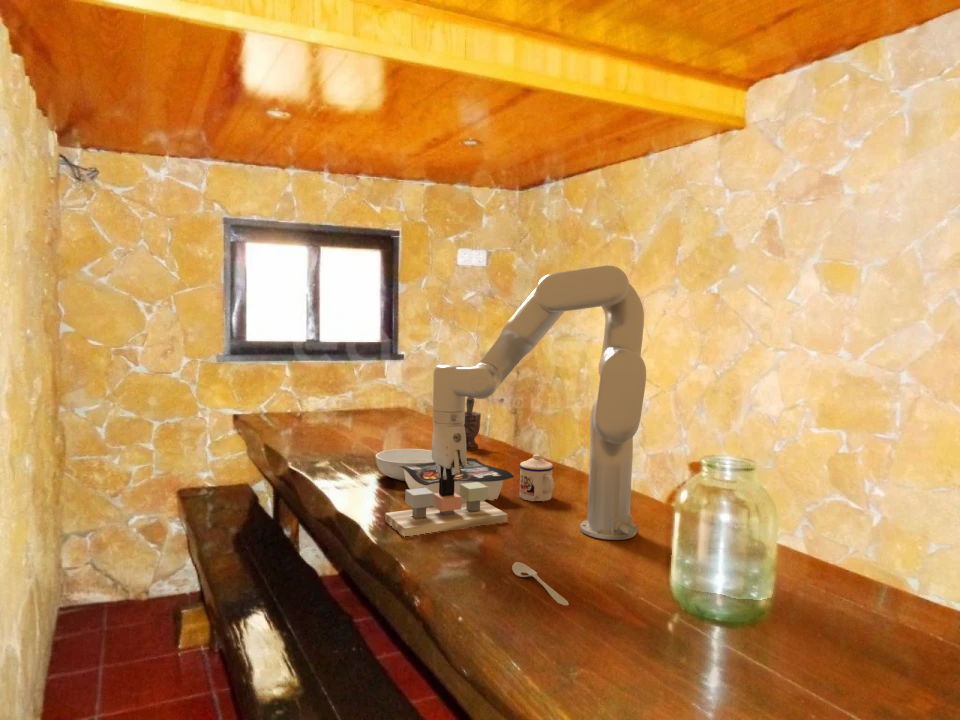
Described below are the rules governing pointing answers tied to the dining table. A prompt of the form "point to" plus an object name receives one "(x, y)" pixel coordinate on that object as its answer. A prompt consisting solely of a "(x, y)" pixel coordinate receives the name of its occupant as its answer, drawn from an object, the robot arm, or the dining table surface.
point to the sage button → (473, 494)
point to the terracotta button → (447, 503)
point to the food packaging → (457, 477)
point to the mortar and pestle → (471, 425)
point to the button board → (444, 519)
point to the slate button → (419, 501)
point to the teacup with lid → (536, 479)
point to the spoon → (522, 567)
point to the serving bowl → (401, 461)
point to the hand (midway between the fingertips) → (446, 494)
